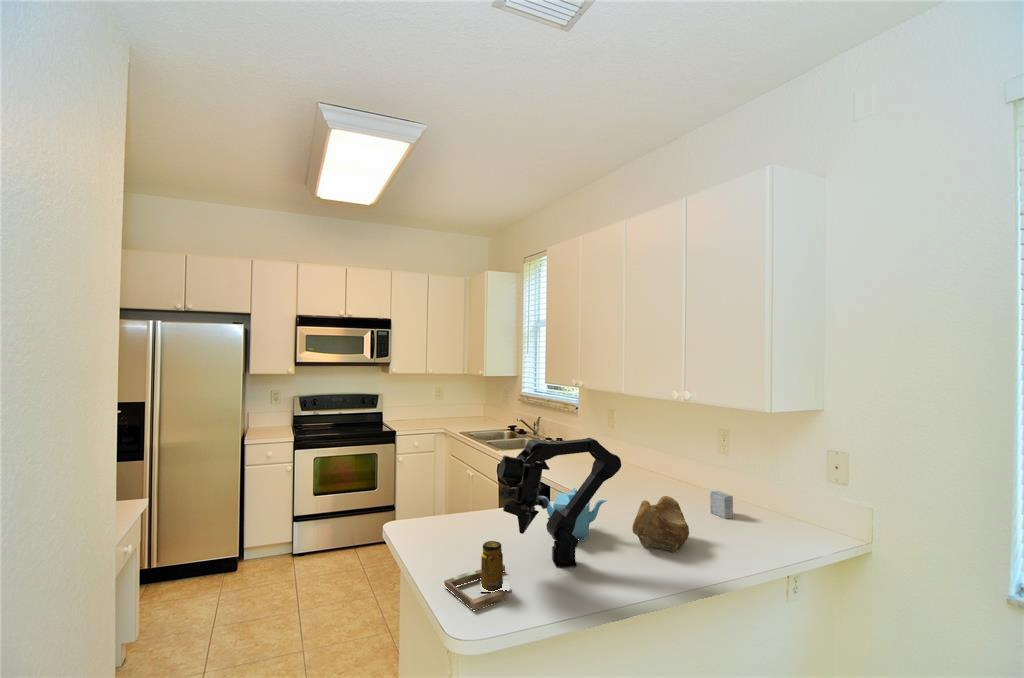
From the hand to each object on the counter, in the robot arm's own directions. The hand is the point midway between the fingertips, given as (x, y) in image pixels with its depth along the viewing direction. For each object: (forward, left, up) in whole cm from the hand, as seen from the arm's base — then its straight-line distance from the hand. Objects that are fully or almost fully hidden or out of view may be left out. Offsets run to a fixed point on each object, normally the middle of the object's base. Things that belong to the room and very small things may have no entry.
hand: (521, 533), depth 154 cm
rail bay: (+11, +12, -11) cm, 19 cm away
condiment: (+9, +11, -11) cm, 18 cm away
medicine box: (-86, -40, -11) cm, 95 cm away
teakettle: (-22, -27, -11) cm, 36 cm away
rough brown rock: (-51, -13, -11) cm, 54 cm away
